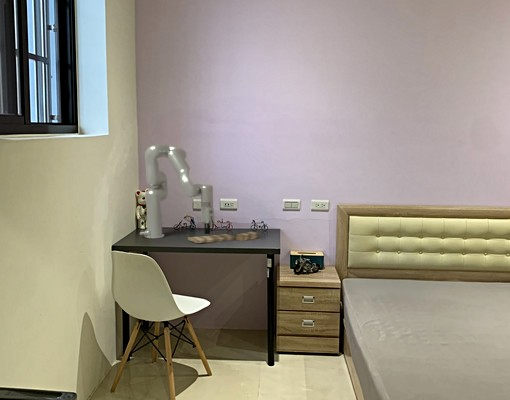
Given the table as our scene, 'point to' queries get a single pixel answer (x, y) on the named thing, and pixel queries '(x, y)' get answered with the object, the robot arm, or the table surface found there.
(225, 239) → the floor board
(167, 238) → the table surface
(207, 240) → the plank
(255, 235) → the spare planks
